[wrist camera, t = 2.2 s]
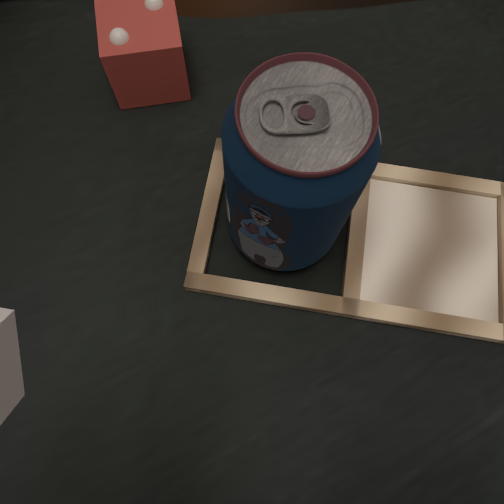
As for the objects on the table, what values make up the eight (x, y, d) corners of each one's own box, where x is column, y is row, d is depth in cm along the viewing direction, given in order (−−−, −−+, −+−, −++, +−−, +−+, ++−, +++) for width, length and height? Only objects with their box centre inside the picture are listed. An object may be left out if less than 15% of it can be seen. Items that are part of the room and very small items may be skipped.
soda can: (328, 175, 30) (380, 36, 19) (341, 274, 28) (409, 183, 16) (225, 180, 30) (215, 42, 18) (230, 280, 28) (222, 193, 16)
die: (120, 109, 31) (96, 50, 26) (115, 53, 33) (90, -13, 28) (191, 99, 32) (180, 39, 27) (181, 45, 33) (170, -22, 28)
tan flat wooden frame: (184, 289, 27) (183, 286, 27) (217, 144, 31) (216, 137, 30) (674, 372, 26) (687, 371, 25) (652, 212, 30) (663, 207, 29)
